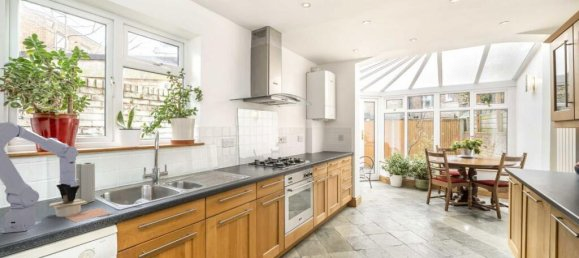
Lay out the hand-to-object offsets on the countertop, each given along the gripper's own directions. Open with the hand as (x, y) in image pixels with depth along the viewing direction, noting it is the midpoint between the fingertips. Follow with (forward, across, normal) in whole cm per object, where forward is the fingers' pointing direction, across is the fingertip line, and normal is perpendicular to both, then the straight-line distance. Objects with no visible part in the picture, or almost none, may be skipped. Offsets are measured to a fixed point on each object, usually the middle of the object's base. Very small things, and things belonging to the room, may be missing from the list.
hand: (68, 199), depth 122 cm
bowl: (+7, 0, 0) cm, 7 cm away
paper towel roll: (+7, +16, -13) cm, 22 cm away
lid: (+2, 0, 0) cm, 2 cm away
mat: (+7, -10, -4) cm, 13 cm away
